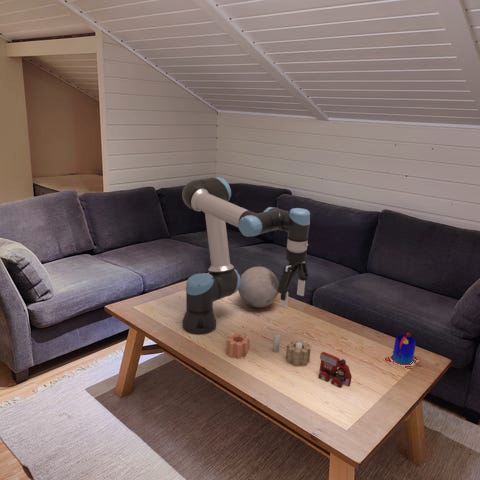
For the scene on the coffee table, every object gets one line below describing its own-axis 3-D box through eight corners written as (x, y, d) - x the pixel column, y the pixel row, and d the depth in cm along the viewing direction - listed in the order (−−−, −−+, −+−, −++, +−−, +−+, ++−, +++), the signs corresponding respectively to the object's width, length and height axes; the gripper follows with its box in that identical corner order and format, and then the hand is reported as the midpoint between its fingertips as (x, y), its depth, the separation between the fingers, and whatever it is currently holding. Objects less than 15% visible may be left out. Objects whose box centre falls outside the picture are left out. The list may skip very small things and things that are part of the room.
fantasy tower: (410, 372, 169) (415, 345, 165) (381, 360, 177) (385, 333, 173) (422, 360, 177) (427, 334, 174) (394, 349, 185) (398, 323, 181)
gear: (284, 364, 169) (285, 350, 167) (287, 351, 177) (289, 338, 175) (308, 368, 167) (309, 354, 165) (310, 355, 175) (311, 342, 173)
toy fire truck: (344, 394, 155) (347, 368, 152) (313, 379, 163) (316, 355, 159) (353, 385, 161) (356, 360, 157) (323, 371, 168) (325, 347, 165)
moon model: (252, 318, 206) (254, 279, 200) (229, 302, 222) (230, 264, 216) (286, 309, 216) (288, 271, 210) (262, 293, 232) (264, 258, 226)
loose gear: (221, 353, 177) (222, 339, 175) (235, 343, 184) (236, 331, 182) (239, 361, 172) (240, 347, 170) (253, 351, 179) (253, 338, 177)
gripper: (289, 261, 154) (284, 315, 161) (320, 244, 174) (314, 293, 181) (270, 256, 158) (267, 309, 165) (303, 239, 178) (298, 288, 185)
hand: (292, 300), depth 173 cm, fingers open, 13 cm apart
